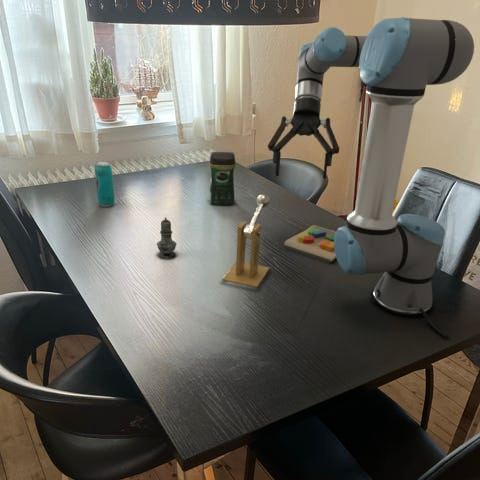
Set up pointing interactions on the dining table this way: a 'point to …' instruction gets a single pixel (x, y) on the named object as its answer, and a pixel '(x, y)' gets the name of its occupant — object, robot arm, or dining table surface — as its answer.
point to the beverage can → (104, 183)
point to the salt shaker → (166, 241)
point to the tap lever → (256, 215)
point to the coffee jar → (222, 178)
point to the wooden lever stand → (244, 271)
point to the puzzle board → (315, 242)
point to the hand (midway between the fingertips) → (300, 176)
